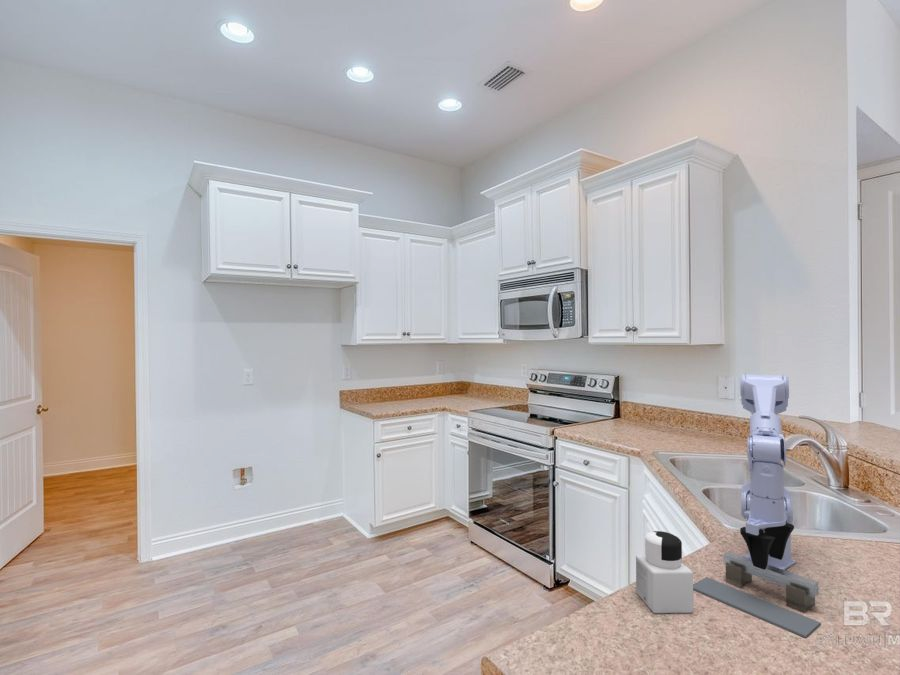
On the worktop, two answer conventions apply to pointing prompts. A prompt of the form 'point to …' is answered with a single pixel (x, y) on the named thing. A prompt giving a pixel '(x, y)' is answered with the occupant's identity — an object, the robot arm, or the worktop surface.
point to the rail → (773, 574)
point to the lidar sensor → (664, 575)
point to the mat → (757, 607)
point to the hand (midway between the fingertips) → (767, 562)
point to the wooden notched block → (737, 576)
